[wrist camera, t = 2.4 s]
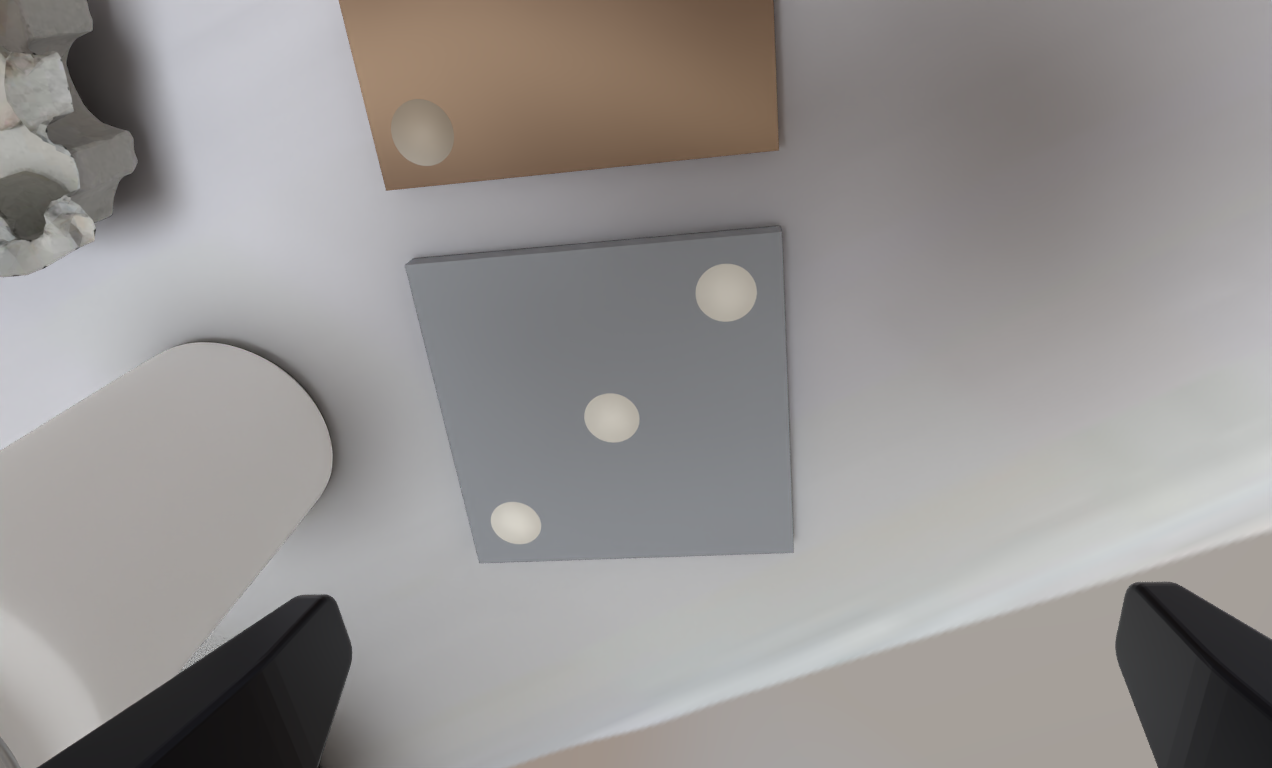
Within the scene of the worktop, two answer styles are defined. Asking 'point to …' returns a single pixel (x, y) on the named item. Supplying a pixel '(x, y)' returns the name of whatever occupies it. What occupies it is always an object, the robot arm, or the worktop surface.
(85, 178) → the egg carton
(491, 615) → the worktop surface
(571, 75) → the walnut mat
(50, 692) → the can
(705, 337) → the slate mat
